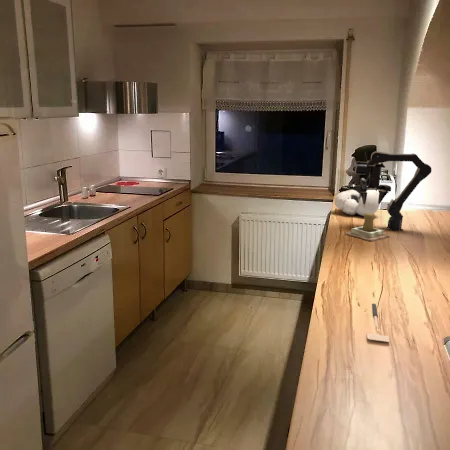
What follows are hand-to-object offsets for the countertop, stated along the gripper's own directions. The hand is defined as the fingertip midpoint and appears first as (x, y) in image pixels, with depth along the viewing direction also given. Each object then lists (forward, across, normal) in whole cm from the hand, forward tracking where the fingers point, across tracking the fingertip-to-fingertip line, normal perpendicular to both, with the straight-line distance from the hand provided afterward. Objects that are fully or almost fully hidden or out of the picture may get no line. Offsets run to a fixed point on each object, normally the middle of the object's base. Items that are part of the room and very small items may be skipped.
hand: (371, 203), depth 273 cm
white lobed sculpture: (+13, -9, -29) cm, 33 cm away
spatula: (+14, +64, +109) cm, 127 cm away
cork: (+12, +11, +16) cm, 23 cm away
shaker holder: (+13, +11, +16) cm, 23 cm away
